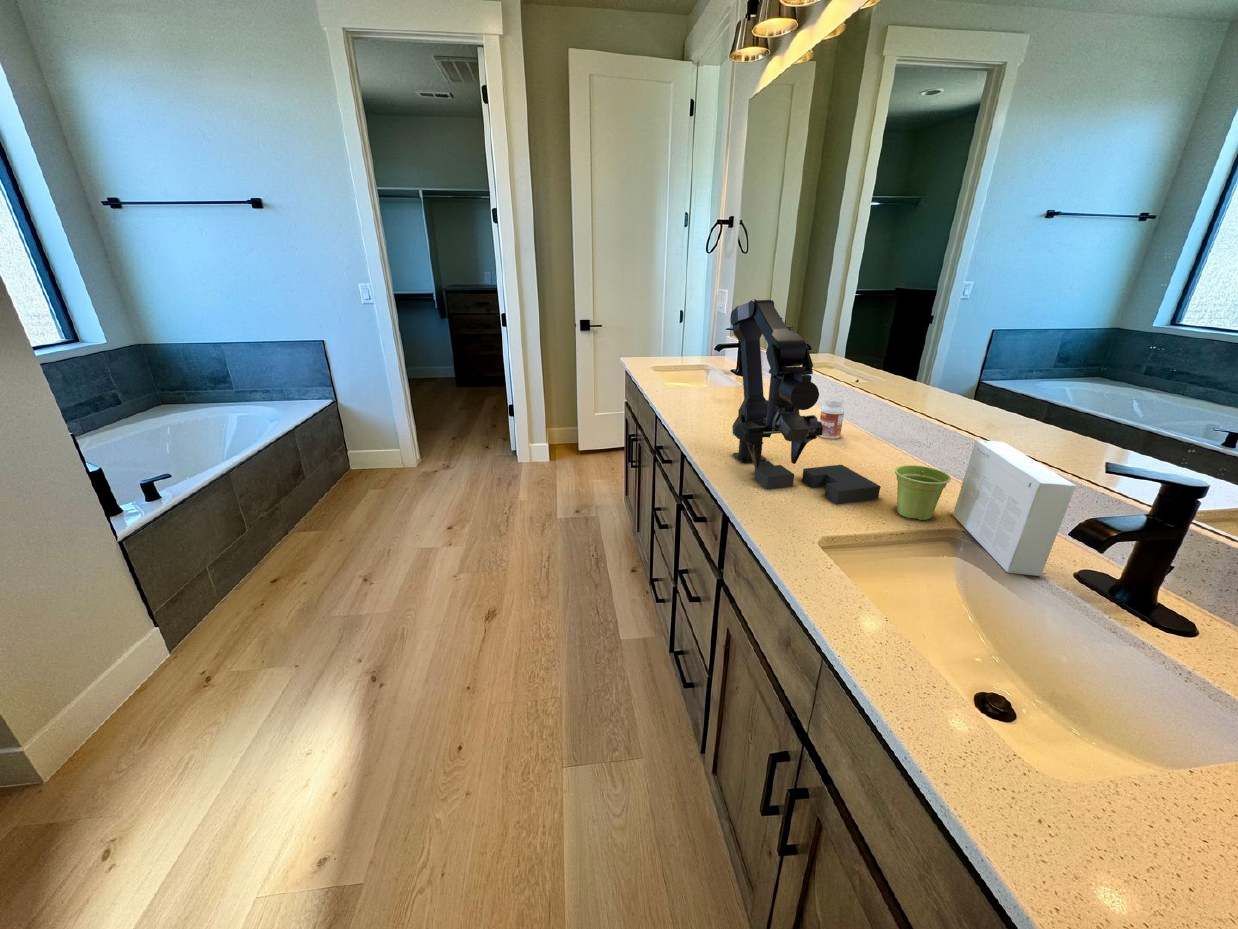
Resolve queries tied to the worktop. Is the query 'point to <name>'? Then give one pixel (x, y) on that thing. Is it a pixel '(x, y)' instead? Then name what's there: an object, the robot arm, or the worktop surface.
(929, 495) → the plant pot
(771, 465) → the black pad
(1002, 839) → the worktop surface
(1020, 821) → the worktop surface
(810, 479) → the charcoal pad
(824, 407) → the pill bottle
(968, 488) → the skincare box
